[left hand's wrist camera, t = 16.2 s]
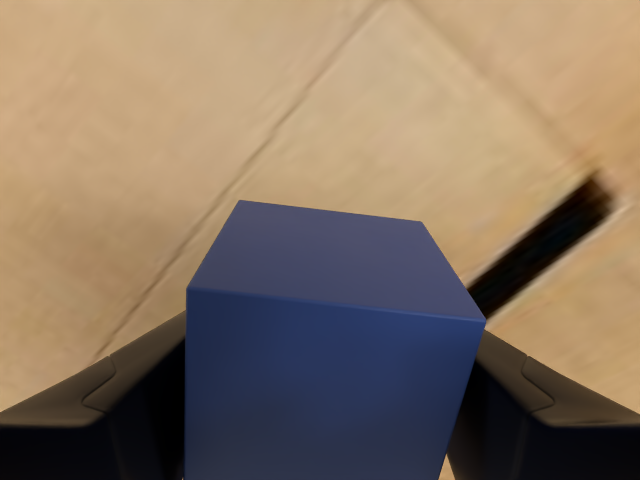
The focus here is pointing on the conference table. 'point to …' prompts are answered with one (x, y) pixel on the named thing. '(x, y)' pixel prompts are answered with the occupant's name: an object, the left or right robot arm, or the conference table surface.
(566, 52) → the conference table surface
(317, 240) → the cube
